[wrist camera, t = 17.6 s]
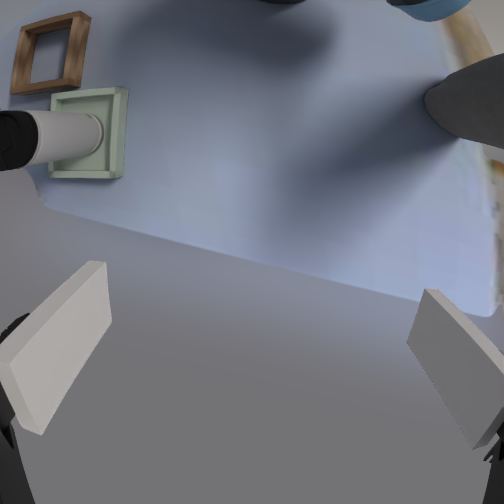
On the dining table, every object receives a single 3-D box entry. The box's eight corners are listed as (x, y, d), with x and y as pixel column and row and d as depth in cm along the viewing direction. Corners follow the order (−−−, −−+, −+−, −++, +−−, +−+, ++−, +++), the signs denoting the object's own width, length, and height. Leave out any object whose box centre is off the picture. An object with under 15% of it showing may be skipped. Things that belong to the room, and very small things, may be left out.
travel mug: (96, 104, 40) (10, 94, 21) (110, 143, 42) (27, 154, 23) (64, 124, 40) (-27, 128, 22) (77, 161, 42) (-11, 184, 24)
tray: (61, 95, 40) (51, 93, 37) (129, 89, 40) (121, 86, 37) (58, 175, 44) (48, 177, 41) (123, 175, 44) (115, 178, 42)
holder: (34, 31, 35) (21, 26, 31) (91, 17, 35) (80, 10, 32) (24, 95, 39) (10, 94, 35) (80, 86, 39) (67, 84, 36)
